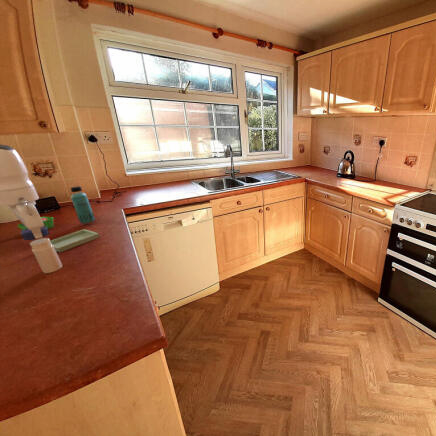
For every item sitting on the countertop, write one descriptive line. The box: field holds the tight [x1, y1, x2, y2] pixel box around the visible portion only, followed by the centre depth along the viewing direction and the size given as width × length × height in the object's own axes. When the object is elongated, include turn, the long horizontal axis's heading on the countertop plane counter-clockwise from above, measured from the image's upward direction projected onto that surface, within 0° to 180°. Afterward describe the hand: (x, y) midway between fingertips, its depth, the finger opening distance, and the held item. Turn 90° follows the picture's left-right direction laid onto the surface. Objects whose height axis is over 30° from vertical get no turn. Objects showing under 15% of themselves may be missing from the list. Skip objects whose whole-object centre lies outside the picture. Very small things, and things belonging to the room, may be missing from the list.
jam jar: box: [29, 237, 63, 274], centre depth 87 cm, size 5×5×11 cm
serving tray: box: [50, 228, 100, 253], centre depth 109 cm, size 15×12×2 cm
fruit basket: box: [17, 216, 54, 231], centre depth 120 cm, size 11×9×11 cm
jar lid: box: [20, 226, 50, 241], centre depth 83 cm, size 6×6×3 cm
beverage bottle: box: [70, 185, 96, 224], centre depth 125 cm, size 6×7×20 cm
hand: (36, 234), depth 84 cm, fingers closed on jar lid, 6 cm apart
